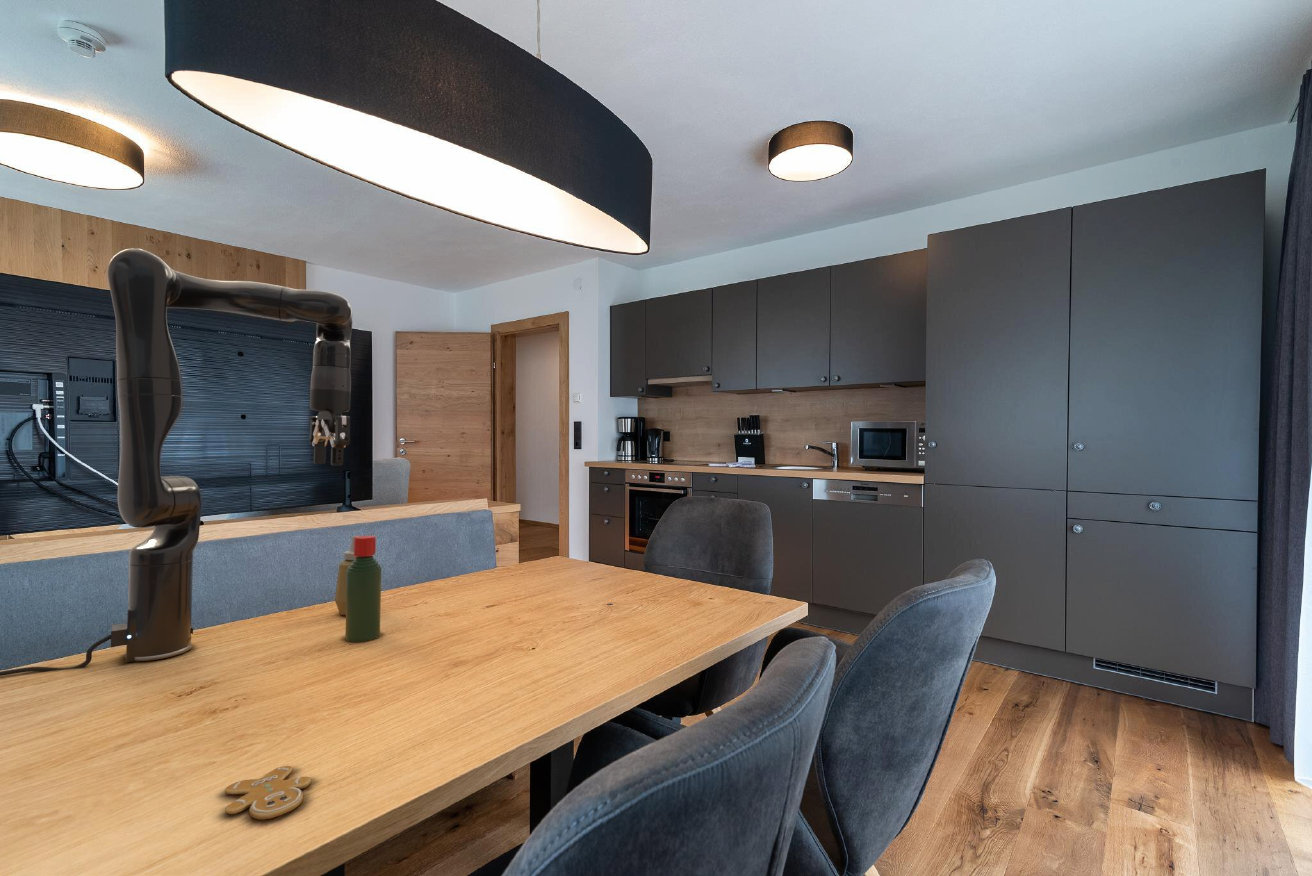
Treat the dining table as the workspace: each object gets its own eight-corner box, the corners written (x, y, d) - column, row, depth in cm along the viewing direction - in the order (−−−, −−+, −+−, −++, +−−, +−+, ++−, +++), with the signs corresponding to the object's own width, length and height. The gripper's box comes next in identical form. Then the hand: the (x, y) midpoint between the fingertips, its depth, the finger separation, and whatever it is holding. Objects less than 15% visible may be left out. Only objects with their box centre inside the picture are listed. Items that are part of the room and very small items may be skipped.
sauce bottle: (350, 644, 115) (352, 543, 115) (341, 636, 120) (343, 539, 120) (384, 637, 119) (386, 540, 120) (374, 630, 124) (376, 536, 124)
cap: (371, 552, 123) (372, 535, 123) (377, 555, 120) (377, 537, 120) (351, 554, 120) (351, 536, 120) (357, 557, 117) (357, 539, 117)
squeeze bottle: (379, 611, 138) (381, 535, 138) (346, 619, 131) (348, 539, 131) (360, 606, 142) (361, 532, 143) (327, 613, 135) (328, 536, 136)
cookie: (297, 757, 72) (326, 789, 65) (296, 765, 72) (325, 798, 65) (214, 786, 65) (236, 824, 59) (214, 794, 65) (236, 834, 59)
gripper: (364, 389, 122) (361, 466, 122) (334, 391, 131) (332, 463, 131) (326, 385, 116) (323, 466, 116) (298, 388, 125) (295, 463, 125)
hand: (328, 464), depth 124 cm, fingers open, 8 cm apart
